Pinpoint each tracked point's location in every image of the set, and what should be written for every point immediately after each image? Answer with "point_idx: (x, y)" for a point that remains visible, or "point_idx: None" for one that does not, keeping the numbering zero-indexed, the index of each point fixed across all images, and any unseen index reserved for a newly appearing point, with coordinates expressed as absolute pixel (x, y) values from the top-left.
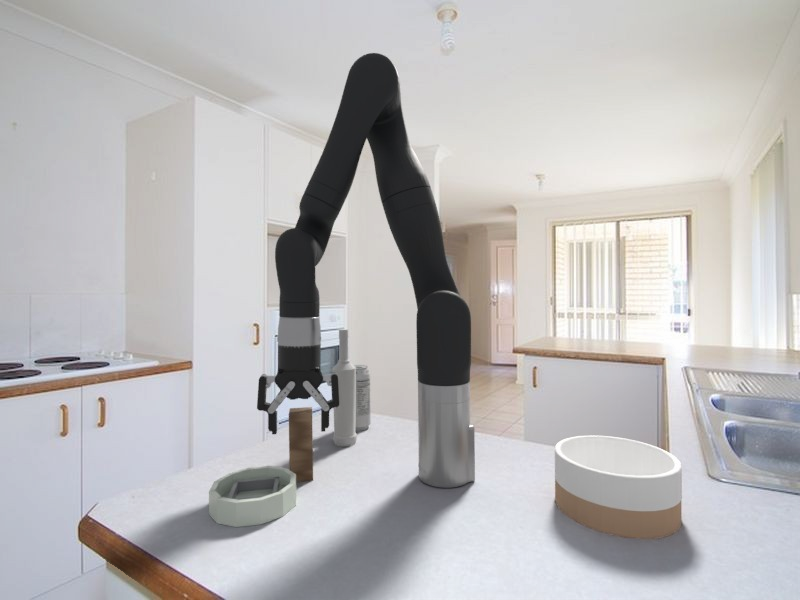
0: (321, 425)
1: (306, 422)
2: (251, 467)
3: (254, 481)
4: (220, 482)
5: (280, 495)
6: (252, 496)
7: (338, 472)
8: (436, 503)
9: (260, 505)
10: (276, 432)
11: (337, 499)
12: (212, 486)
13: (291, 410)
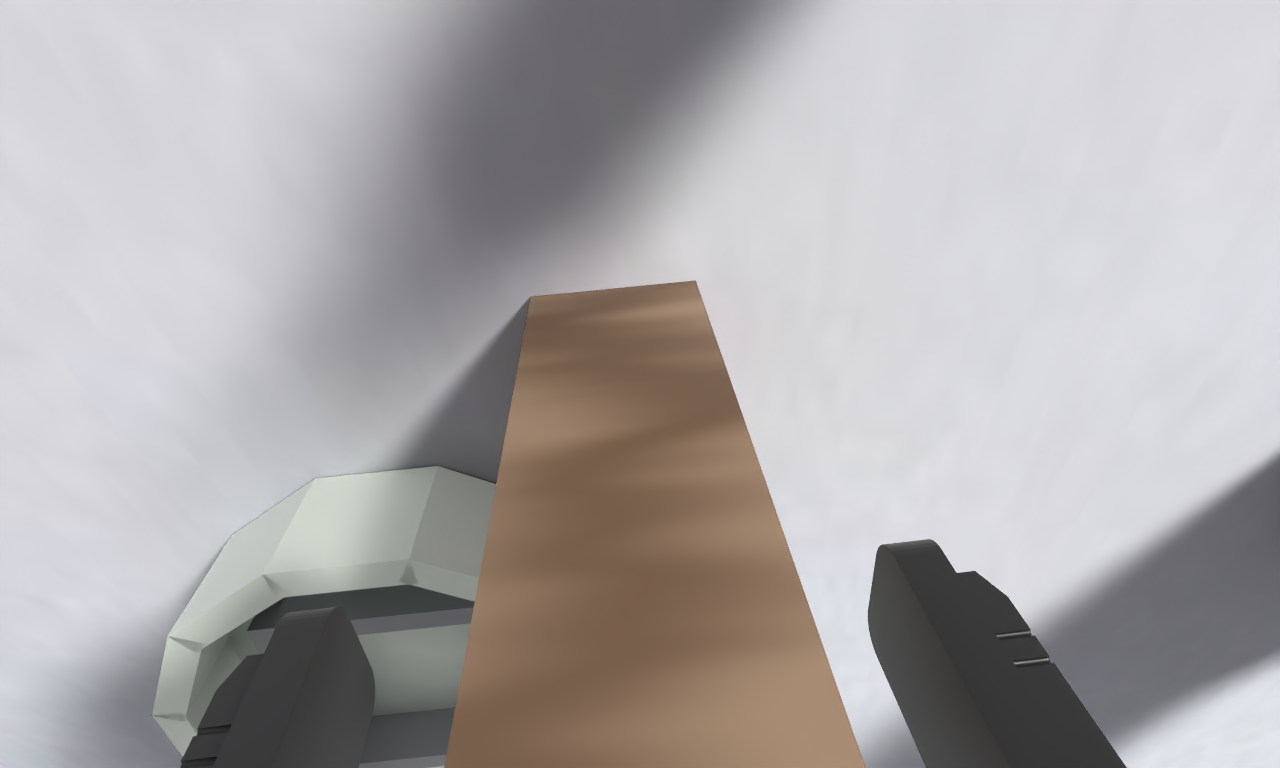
0: (896, 697)
1: None
2: (283, 575)
3: (374, 630)
4: (191, 702)
5: None
6: (405, 638)
7: (877, 320)
8: (1213, 651)
9: None
10: (361, 659)
11: (821, 605)
12: (184, 751)
13: None
